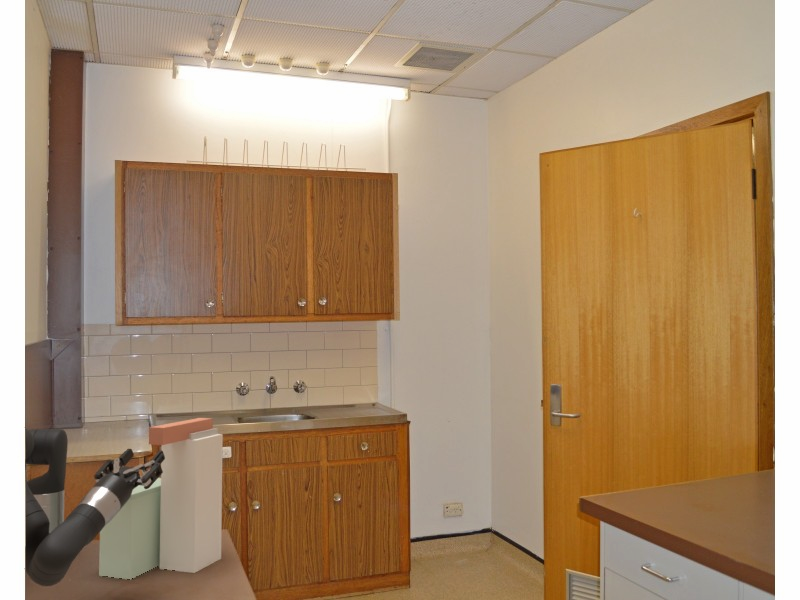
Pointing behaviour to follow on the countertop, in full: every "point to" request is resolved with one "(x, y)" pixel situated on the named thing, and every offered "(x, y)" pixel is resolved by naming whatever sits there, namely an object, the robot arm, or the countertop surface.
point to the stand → (191, 502)
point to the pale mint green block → (133, 535)
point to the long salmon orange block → (178, 430)
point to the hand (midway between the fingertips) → (146, 452)
